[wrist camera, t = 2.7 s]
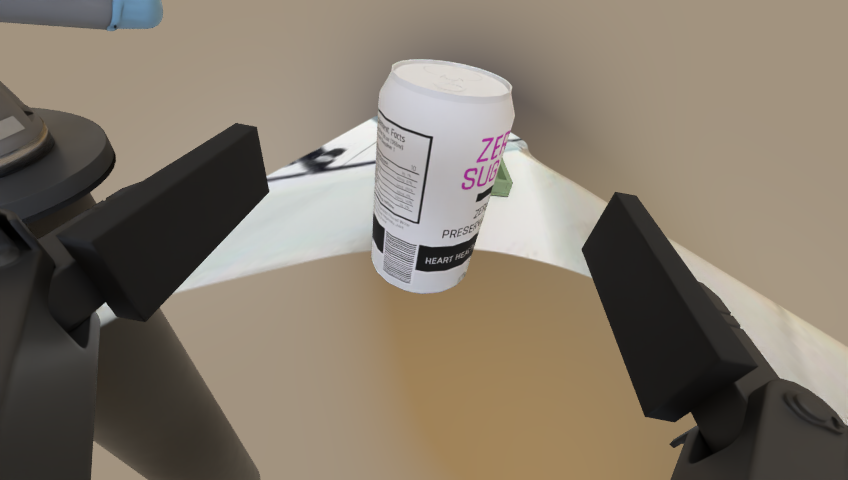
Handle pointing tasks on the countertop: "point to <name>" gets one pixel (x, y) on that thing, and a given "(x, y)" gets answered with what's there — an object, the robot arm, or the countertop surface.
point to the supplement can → (435, 169)
